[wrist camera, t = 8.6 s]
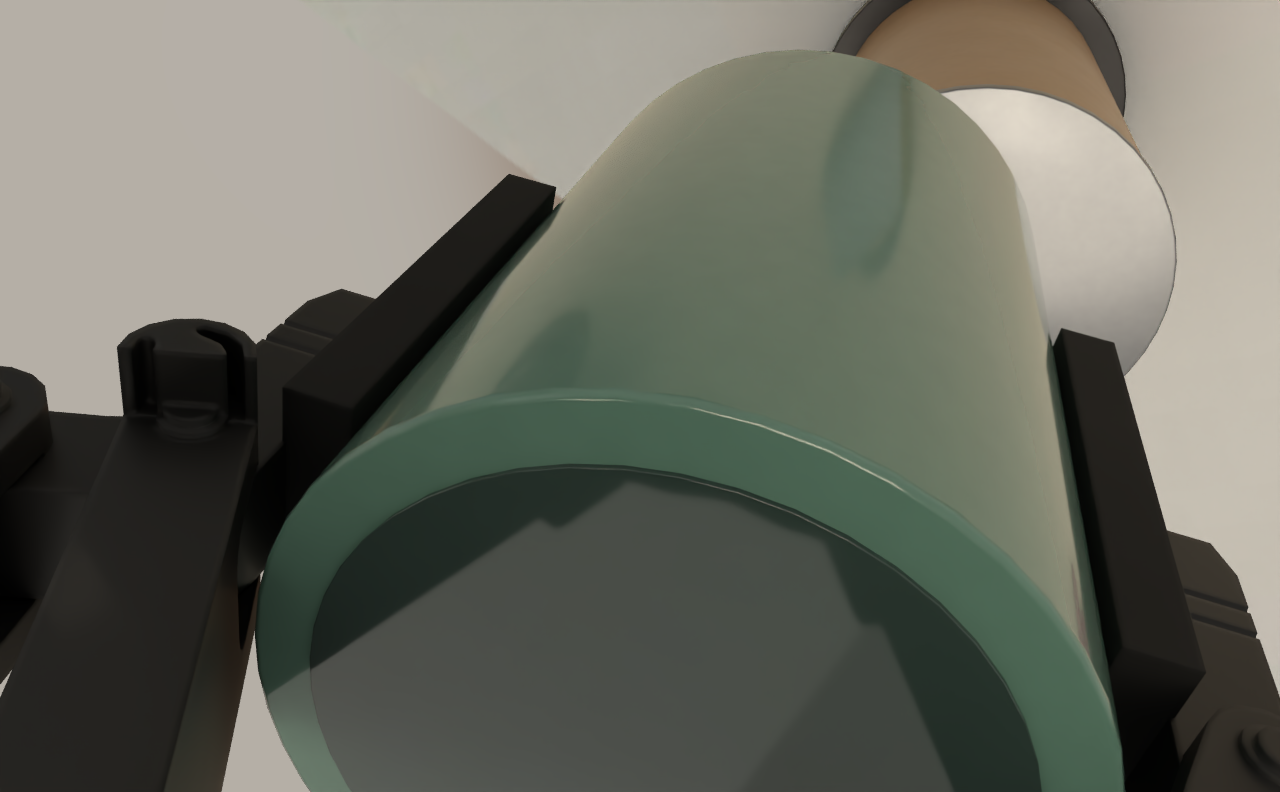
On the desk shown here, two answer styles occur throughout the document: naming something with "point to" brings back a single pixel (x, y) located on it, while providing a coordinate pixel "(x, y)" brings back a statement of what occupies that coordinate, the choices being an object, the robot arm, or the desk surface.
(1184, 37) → the desk surface
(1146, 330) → the tan and grey cylinder
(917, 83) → the tumbler
